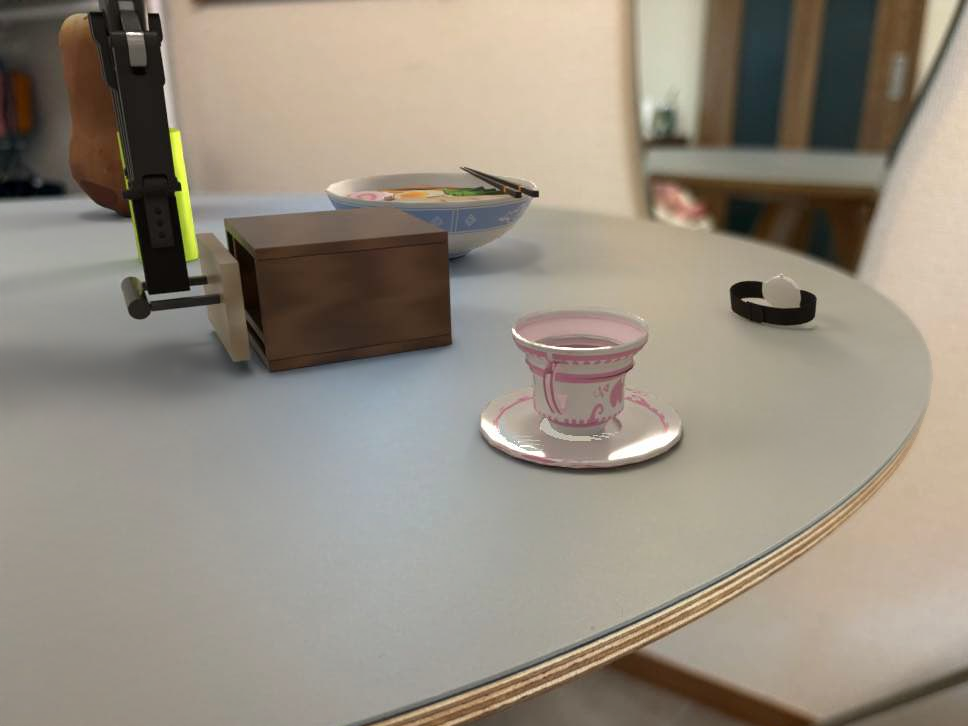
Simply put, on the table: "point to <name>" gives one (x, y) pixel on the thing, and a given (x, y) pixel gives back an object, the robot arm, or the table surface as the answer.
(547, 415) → the teacup
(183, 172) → the soap dispenser
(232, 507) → the table surface
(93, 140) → the butternut squash
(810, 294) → the watch
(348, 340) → the cabinet
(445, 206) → the ramen bowl
